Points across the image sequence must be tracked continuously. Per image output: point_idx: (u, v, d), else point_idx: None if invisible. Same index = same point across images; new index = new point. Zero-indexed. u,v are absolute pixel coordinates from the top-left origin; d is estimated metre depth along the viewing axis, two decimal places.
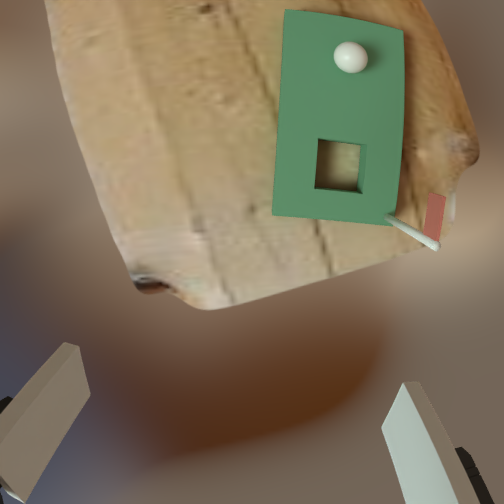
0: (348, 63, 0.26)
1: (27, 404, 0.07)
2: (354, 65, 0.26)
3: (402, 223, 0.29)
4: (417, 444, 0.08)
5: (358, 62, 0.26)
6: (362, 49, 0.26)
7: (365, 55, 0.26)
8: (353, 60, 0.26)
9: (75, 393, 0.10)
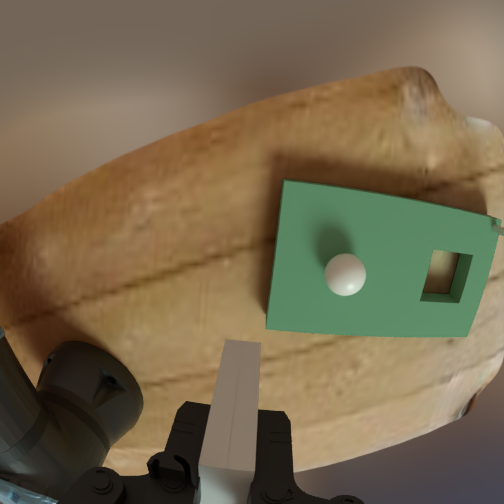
0: (360, 287, 0.25)
1: (232, 402, 0.09)
2: (363, 280, 0.25)
3: None
4: None
5: (361, 276, 0.25)
6: (343, 269, 0.25)
7: (350, 265, 0.25)
8: (359, 283, 0.25)
9: None
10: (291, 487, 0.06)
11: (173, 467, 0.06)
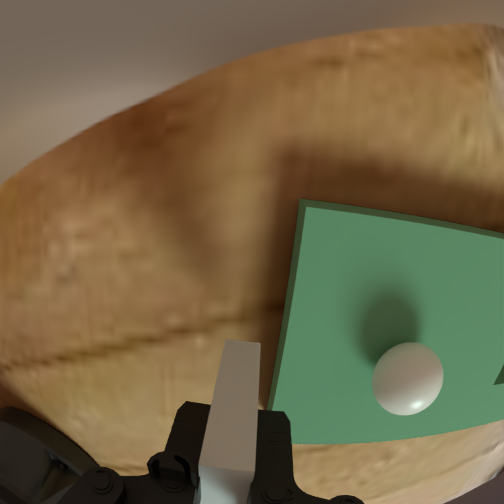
0: None
1: (232, 402, 0.09)
2: (439, 391, 0.12)
3: None
4: None
5: (438, 388, 0.11)
6: (412, 383, 0.11)
7: (425, 374, 0.11)
8: (433, 399, 0.11)
9: None
10: (291, 487, 0.06)
11: (173, 467, 0.06)
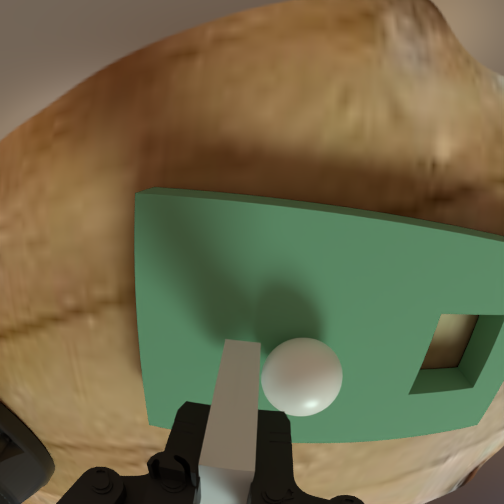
0: None
1: (232, 402, 0.09)
2: None
3: None
4: None
5: None
6: (329, 380, 0.12)
7: (334, 365, 0.12)
8: None
9: None
10: (291, 487, 0.06)
11: (173, 467, 0.06)
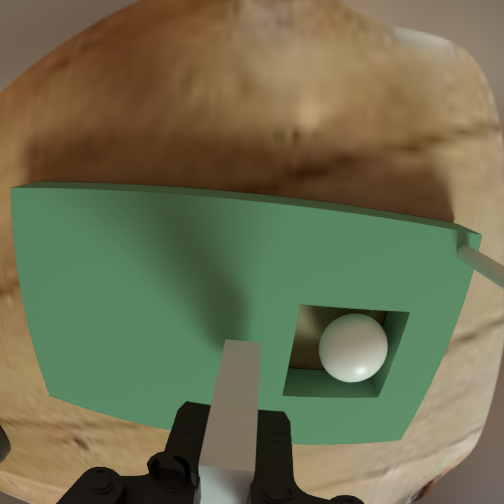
0: None
1: (232, 402, 0.09)
2: None
3: None
4: None
5: None
6: (381, 347, 0.14)
7: (383, 334, 0.14)
8: None
9: None
10: (291, 487, 0.06)
11: (173, 467, 0.06)
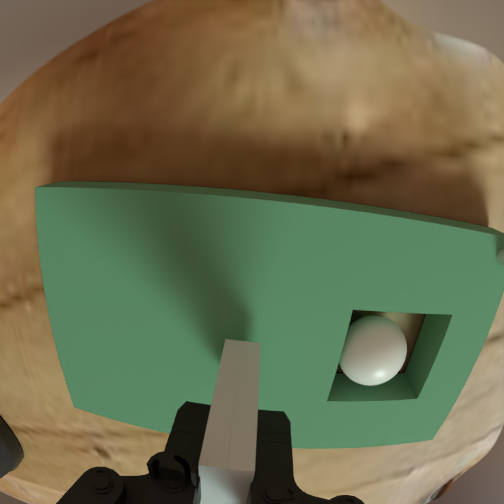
0: None
1: (232, 402, 0.09)
2: (405, 357, 0.14)
3: None
4: None
5: (404, 355, 0.13)
6: (381, 353, 0.13)
7: (392, 343, 0.13)
8: (401, 366, 0.14)
9: None
10: (291, 487, 0.06)
11: (173, 467, 0.06)
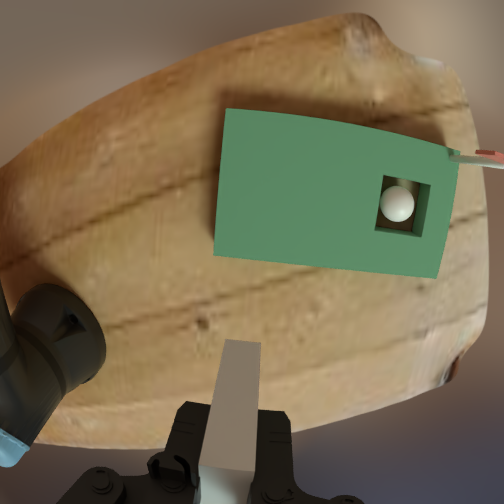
0: None
1: (232, 402, 0.09)
2: None
3: (476, 162, 0.22)
4: None
5: (413, 202, 0.28)
6: (405, 197, 0.27)
7: (408, 194, 0.28)
8: (413, 208, 0.28)
9: None
10: (291, 487, 0.06)
11: (173, 467, 0.06)
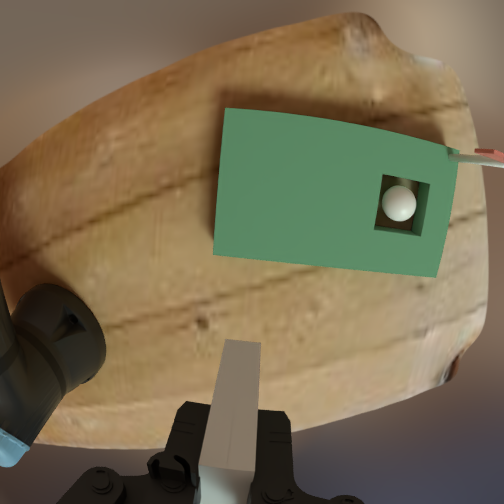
0: None
1: (232, 402, 0.09)
2: None
3: (476, 161, 0.22)
4: None
5: None
6: (409, 197, 0.27)
7: (411, 193, 0.28)
8: (415, 207, 0.29)
9: None
10: (291, 487, 0.06)
11: (173, 467, 0.06)
